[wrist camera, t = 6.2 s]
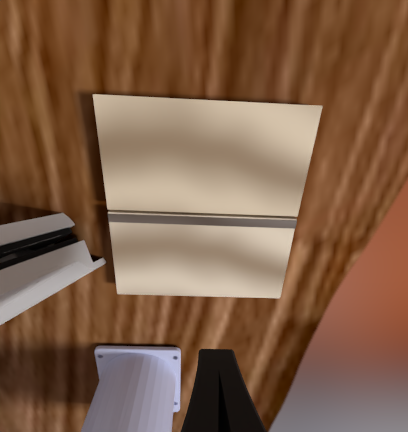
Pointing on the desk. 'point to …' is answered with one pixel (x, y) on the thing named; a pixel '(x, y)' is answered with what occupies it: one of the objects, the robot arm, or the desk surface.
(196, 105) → the board
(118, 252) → the laid board
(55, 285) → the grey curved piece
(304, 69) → the desk surface
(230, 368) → the robot arm
